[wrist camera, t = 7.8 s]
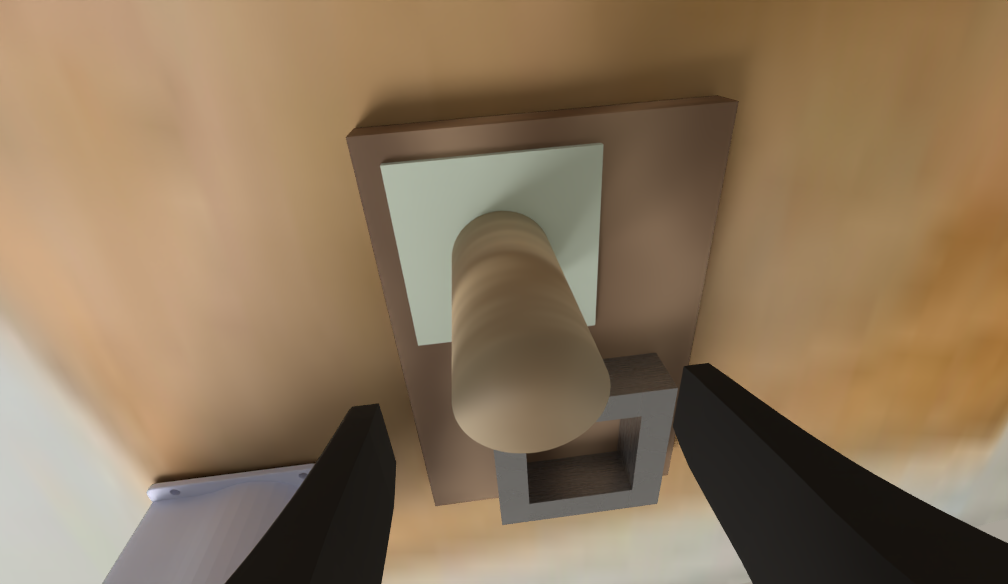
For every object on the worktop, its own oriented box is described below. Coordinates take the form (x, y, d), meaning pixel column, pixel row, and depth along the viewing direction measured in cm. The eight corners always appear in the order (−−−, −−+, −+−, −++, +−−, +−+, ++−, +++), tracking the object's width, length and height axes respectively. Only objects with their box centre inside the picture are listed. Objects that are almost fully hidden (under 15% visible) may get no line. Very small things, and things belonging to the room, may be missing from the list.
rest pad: (418, 341, 20) (418, 345, 20) (381, 163, 16) (379, 165, 16) (593, 321, 21) (595, 325, 20) (601, 142, 16) (603, 144, 16)
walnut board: (436, 483, 28) (435, 506, 26) (353, 128, 17) (346, 137, 15) (657, 454, 28) (667, 474, 27) (717, 95, 17) (738, 101, 16)
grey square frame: (498, 483, 26) (502, 524, 24) (485, 372, 21) (488, 411, 19) (640, 464, 26) (657, 503, 24) (655, 352, 22) (678, 388, 20)
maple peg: (460, 306, 19) (465, 463, 12) (443, 218, 17) (437, 348, 10) (553, 292, 19) (610, 440, 12) (547, 203, 17) (611, 321, 10)
